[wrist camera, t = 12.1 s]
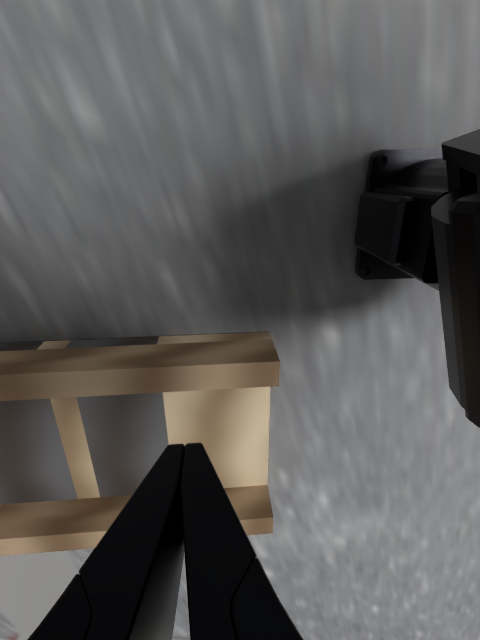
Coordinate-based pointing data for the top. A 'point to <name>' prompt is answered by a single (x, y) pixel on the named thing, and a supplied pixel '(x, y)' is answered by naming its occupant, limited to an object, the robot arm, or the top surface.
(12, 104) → the top surface
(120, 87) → the top surface
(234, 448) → the frame
